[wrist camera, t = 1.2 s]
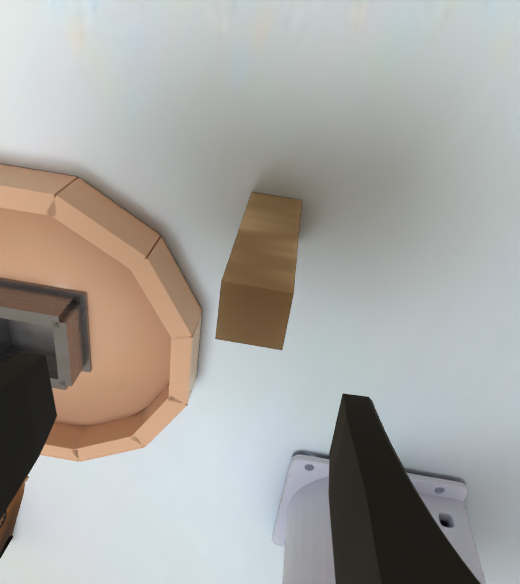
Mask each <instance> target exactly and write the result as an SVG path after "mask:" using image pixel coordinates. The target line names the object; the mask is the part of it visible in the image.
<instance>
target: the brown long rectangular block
mask: <svg viewBox="0 0 520 584" xmlns="http://www.w3.org/2000/svg"><path fill="white" fill-rule="evenodd" d="M301 205H302V200H297V199H291V198H285V197H279V196H273V195H267V194H261V193H254V192H251V195H250V198H249V201H248V204H247V207H246V210H245V213H244V216H243V219H242V222H241V225H240V228H239V231H238V234H237V237H236V240H235V243H234V246H233V249H232V252H231V255H230V258H229V260H228V263H227V266H226V269H225V272H224V275H223V278H222V281H221V291H220V300H219V309H218V319H217V328H216V338H215V339H219V340H225V341H231V342H237V343H243V344H249V345H255V346H261V347H266V348H272V349H278V350H282V349H283V344H284V339H285V334H286V329H287V324H288V319H289V314H290V309H291V304H292V299H293V294H294V283H295V272H296V260H297V249H298V238H299V227H300V216H301Z"/></svg>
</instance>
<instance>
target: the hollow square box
mask: <svg viewBox="0 0 520 584" xmlns="http://www.w3.org/2000/svg"><path fill="white" fill-rule="evenodd" d="M20 352H26V353H33V354H41V355H46V360H47V365H48V370H49V376H50V381H51V386H52V388H56V389H62V390H66V389H67V388H68V386H72V385H73V384H74V382H75V381H76V379H77V377H78V376H79V374H80V373H81V371H84V372H89V373H90V372H91V371H92V364H91V348H90V332H89V316H88V300H87V292H83V291H77V290H71V289H65V288H59V287H53V286H47V285H41V284H36V283H30V282H24V281H18V280H12V279H6V278H0V365H1V364H3V363H4V362H6V361H7V360H9V359H11V358H12V357H14V356H15V355H17V354H19V353H20Z"/></svg>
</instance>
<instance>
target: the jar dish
mask: <svg viewBox="0 0 520 584" xmlns="http://www.w3.org/2000/svg"><path fill="white" fill-rule="evenodd" d="M159 236H160V235H159V234H158V233H157V232H155V231H154V230H152V229H151V228H150V227H148V226H147V225H145V224H144V223H142V222H141V221H140V220H138V219H137V218H135V217H134V216H133V215H131V214H130V213H128V212H127V211H125V210H124V209H123V208H121V207H120V206H118V205H117V204H116V203H114V202H113V201H111V200H110V199H108V198H107V197H106V196H104V195H103V194H101V193H100V192H99V191H97V190H96V189H94V188H93V187H91V186H90V185H89V184H87V183H86V182H84V181H83V180H82V179H80V178H78V179H77V177H76V176H70V175H64V174H57V173H51V172H45V171H39V170H33V169H27V168H21V167H15V166H9V165H3V164H0V278H6V279H12V280H18V281H24V282H30V283H36V284H41V285H47V286H53V287H59V288H65V289H71V290H77V291H83V292H87V300H88V316H89V332H90V348H91V364H92V371H91V372H90V373H89V372H84V371H81V373H80V374H79V376H78V377H77V379H76V381H75V382H74V384H73V385H72V386H68V388H67V389H66V390H62V389H56V388H52V391H53V396H54V401H55V407H56V412H57V418H56V420H55V422H54V425H53V427H52V429H51V432H50V434H49V436H48V438H47V441H46V443H45V445H44V447H43V449H42V451H41V454H40V455H44V456H50V457H55V458H61V459H67V460H72V461H78V462H79V460H80V462H81V461H86V460H90V459H95V458H99V457H104V456H108V455H113V454H117V453H122V452H126V451H131V450H136V449H140V448H144V447H146V446H147V445H148V444H149V443H150V442H151V441H152V440H153V439H154V438H155V437H156V436H157V435H158V434H159V433H160V432H161V431H162V430H163V429H164V428H165V427H166V426H167V425H168V424H169V423H170V422H171V421H172V420H173V419H174V418H175V417H176V416H177V415H178V414H179V413H180V412H181V411H182V410H183V409H184V408H185V407H186V406H187V404H188V401H189V398H190V395H191V392H192V388H193V385H194V382H195V379H196V376H197V365H198V353H199V342H200V330H201V318H202V312H201V308H200V306H199V304H198V302H197V301H196V299H195V297H194V295H193V293H192V291H191V290H190V288H189V286H188V284H187V282H186V280H185V279H184V277H183V275H182V273H181V271H180V269H179V267H178V266H177V264H176V262H175V260H174V258H173V256H172V255H171V253H170V251H169V249H168V247H167V245H166V244H165V242H164V240H163V238H162V237H159Z"/></svg>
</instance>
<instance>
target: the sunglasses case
mask: <svg viewBox="0 0 520 584" xmlns="http://www.w3.org/2000/svg"><path fill="white" fill-rule="evenodd" d="M28 478H29V477H28V476H27V477H26V479H25V480H24V482H23V484H22V485H21V487H20V489H19V490H18V492H17V494H16V495H15V497H14V498H13V500H12V502H11V503H10V505H9V507H8V508H7V510H6V511H5V513H4V515H3V516H2V518H1V520H0V558H1V556H2V555H3V553H4V551H5V550H6V548H7V546H8V545H9V543H10V541H11V539H12V538H13V536H12V534H13V533H12V532H13V530H14V526H15V523H16V518H17V515H18V511H19V508H20V504H21V501H22V497H23V493H24V486H25V481H27V479H28Z"/></svg>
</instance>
